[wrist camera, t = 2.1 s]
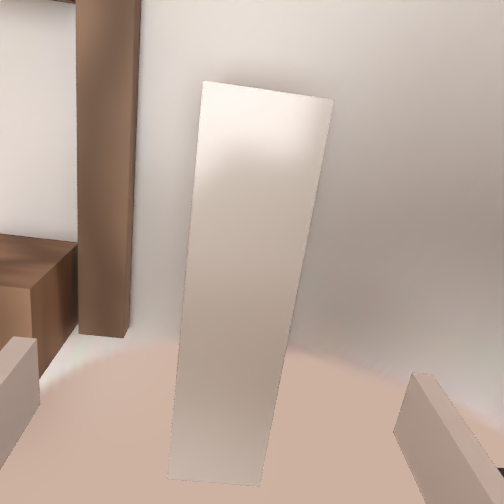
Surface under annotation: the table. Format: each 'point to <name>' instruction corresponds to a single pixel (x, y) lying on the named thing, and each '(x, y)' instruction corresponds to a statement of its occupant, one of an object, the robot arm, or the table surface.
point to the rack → (85, 200)
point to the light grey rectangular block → (242, 274)
